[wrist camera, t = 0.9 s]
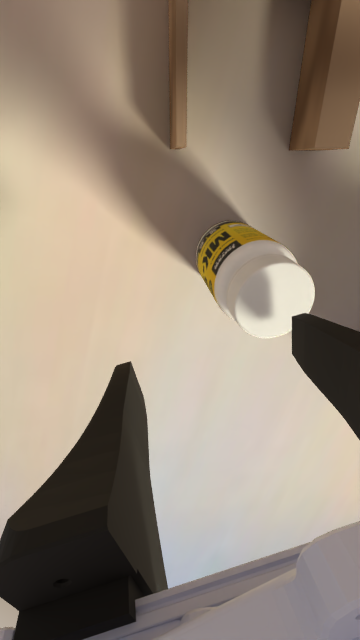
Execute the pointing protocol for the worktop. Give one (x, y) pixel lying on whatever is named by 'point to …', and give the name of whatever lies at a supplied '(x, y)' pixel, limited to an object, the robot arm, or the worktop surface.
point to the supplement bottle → (253, 278)
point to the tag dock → (315, 78)
